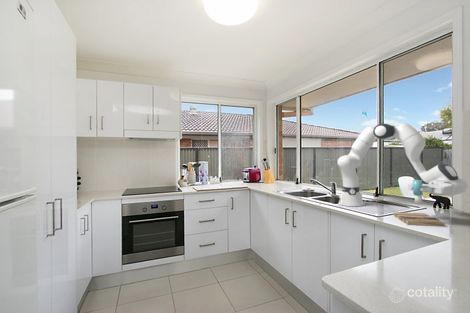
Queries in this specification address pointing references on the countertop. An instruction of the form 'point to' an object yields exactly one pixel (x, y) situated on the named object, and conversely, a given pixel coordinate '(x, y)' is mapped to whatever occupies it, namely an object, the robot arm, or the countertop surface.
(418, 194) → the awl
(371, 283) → the countertop surface
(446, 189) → the robot arm
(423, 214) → the board
